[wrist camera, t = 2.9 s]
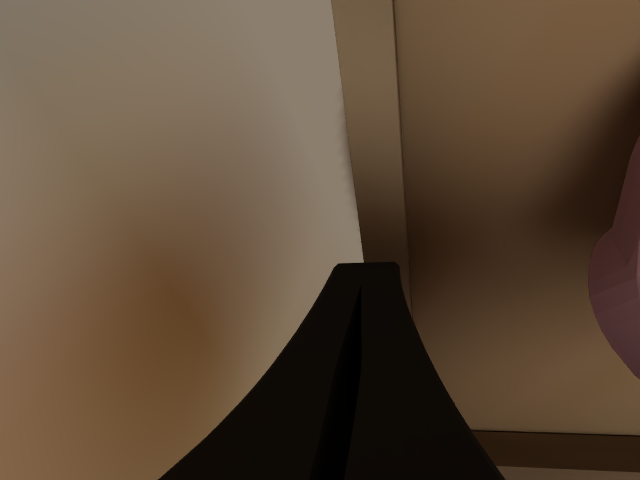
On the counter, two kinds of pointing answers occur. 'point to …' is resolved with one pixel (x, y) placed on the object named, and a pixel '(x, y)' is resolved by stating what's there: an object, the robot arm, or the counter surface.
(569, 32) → the counter surface
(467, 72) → the counter surface
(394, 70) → the shallow wooden tray
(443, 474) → the robot arm
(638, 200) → the video game controller
